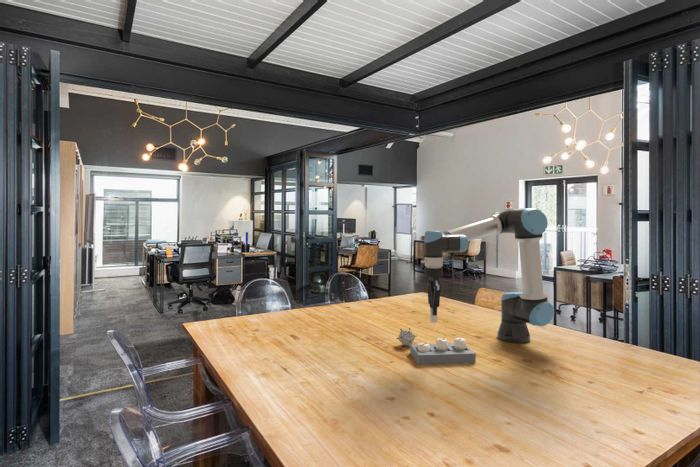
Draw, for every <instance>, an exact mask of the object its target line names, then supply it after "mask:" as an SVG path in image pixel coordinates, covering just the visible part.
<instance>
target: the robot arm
mask: <svg viewBox="0 0 700 467" xmlns="http://www.w3.org/2000/svg"><path fill="white" fill-rule="evenodd" d="M548 223H549V222H548V218H547V216H546V214H545V213H544V212H543V211H542V210H541V209H538V208H532V207H528V208H526V207H525V208H511V209H507V210H503V211H501V212H498V213H494V214H493V215H490V216H489V217H488V218H486V219H483V220H479V221H476V222H473V223H470V224H469V223H468V224H466V225H462V226H460V227H457V228H453V229H449V230H447V231H446V230H445V231H443V230H426V231H425V232H424V236H423V237H424V239H423V244H424V259H422V260H423V262H424V276H425V277H428V280H427V281H426V287H427V290H426V291H427V300H428V304H429V312H430V313H429V322H430V323H431V324H432V323H433V324H435V323H438V308H439V307H440V303H441V302H440V301H441V299H440V298H441V290H442V285H440V280H439V278H441V277H443V275H444V274H443V273H444V272H443V266H444V264H443V263H444V261H443V260H444V256H443V254H444V253H463V252H466V251H467V250H468V249H469V247H470V246H469V243H470V241H474V240H476V239H482V238H484V237H487V236H489V235H492V234H493V235H496V236H497V235H500V234H514V238H515V240H516V241H517V242H518V245H519V246H518V247H519V259H520V272H521V282H522V283H521V284H522V291H520V292H519V291H518V292H516V291H513V292H509V291H508V292H504V293H502V295H501V303H500V304H501V305H500V306H501V308H500V309H501V310H500V311H501V313H500V314H501V320H500V321H501V322H500V324H499V327H498V330H497V335H496V337H497V338H498V339H499V340H501V341H504V342H510V343H517V344H521V343H523V344H524V343H529V342H530V341H531V334H530V331H529V329H528V324H530V325H532V326H537V327H544V326H547V325H549V324H550V323H551V321H553V319H554V316H555V307H554V306H553V305H552V303H551V302H549V301H548V295H547V293H545V292H544V286H543V285H544V284H543V274H542V273H543V272H542V258H541V257H542V256H541V248H540V247H541V246H540V245H541V244H540V240H542V238H543V236H544V235H543V233H545V232H546V229H547V228H548V225H549V224H548Z"/></svg>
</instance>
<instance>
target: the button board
mask: <svg viewBox="0 0 700 467" xmlns="http://www.w3.org/2000/svg"><path fill="white" fill-rule="evenodd" d="M418 344H419V343H417V344H415V343H414V344H413V343H412V345H409V347H410V348H409V350H410V351H409V354H410V355H411V357H412V358H413V359H414V361H415V362H416V363H417V365H418V366H425V365H426V366H429V365H431V366H432V365H451V364H452V365H453V364H454V365H455V364H456V365H457V364H476V359H477V358H476V356H477V355H476V352H475V351H473V350H472V349H471V348H469V347H468V346H467V345H466V350H463V351H455V350H454V342H453V343H452V342H451V343H449V342H448V351H436V343H428V344H429V345H430V352H418Z"/></svg>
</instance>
